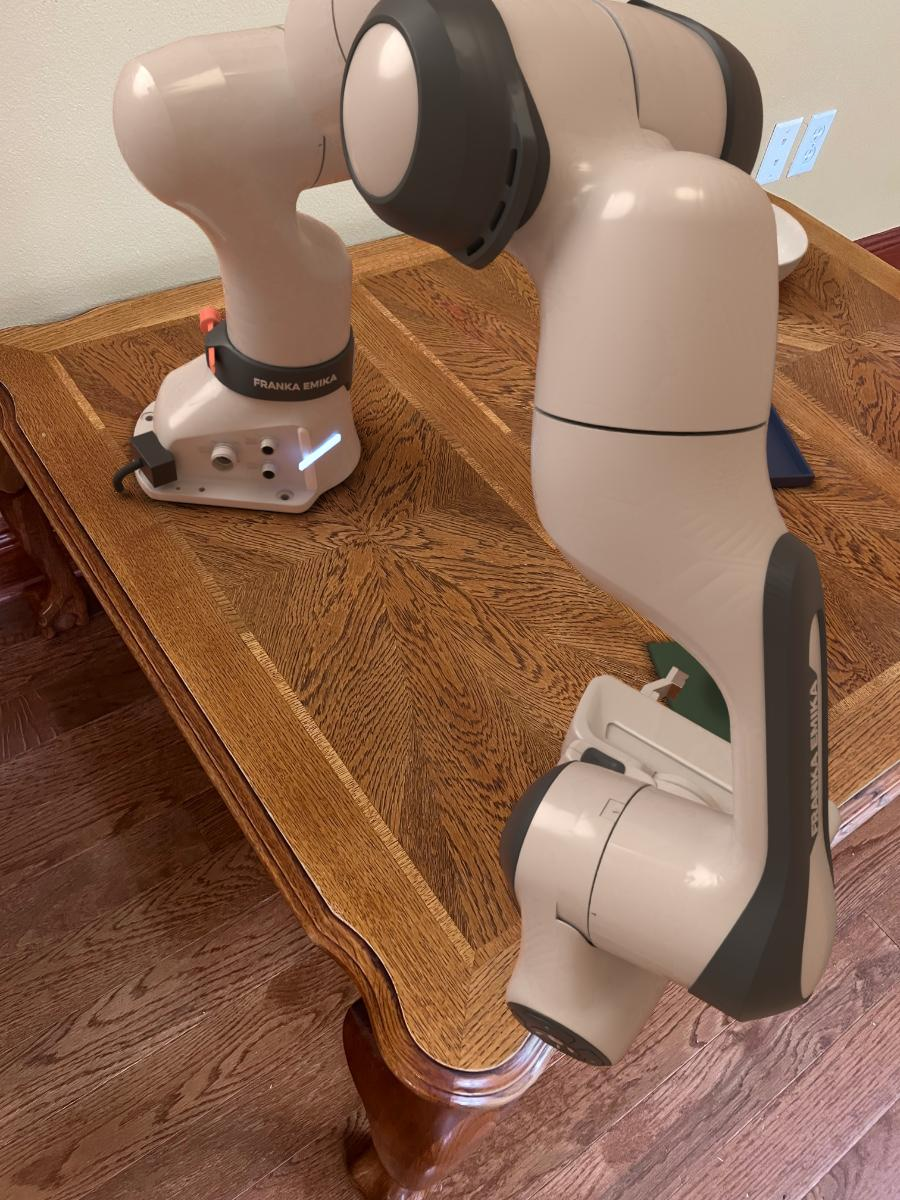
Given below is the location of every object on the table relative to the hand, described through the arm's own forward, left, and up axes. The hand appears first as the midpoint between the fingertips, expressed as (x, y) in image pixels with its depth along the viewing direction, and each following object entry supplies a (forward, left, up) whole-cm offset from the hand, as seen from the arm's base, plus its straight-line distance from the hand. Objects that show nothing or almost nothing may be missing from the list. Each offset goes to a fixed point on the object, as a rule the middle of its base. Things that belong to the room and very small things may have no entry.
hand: (733, 705), depth 73 cm
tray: (+17, +38, -7) cm, 42 cm away
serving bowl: (+29, +73, -7) cm, 79 cm away
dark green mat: (+5, +5, -7) cm, 10 cm away
